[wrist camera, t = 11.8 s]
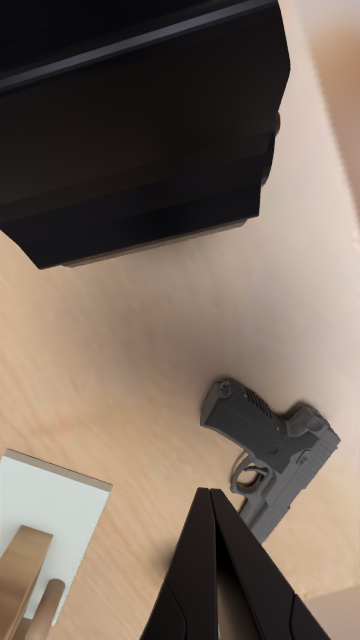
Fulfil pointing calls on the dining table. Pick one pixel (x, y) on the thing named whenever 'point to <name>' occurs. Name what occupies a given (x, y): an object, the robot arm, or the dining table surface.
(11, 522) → the panel
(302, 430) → the handgun
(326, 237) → the dining table surface
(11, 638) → the brown wooden block
